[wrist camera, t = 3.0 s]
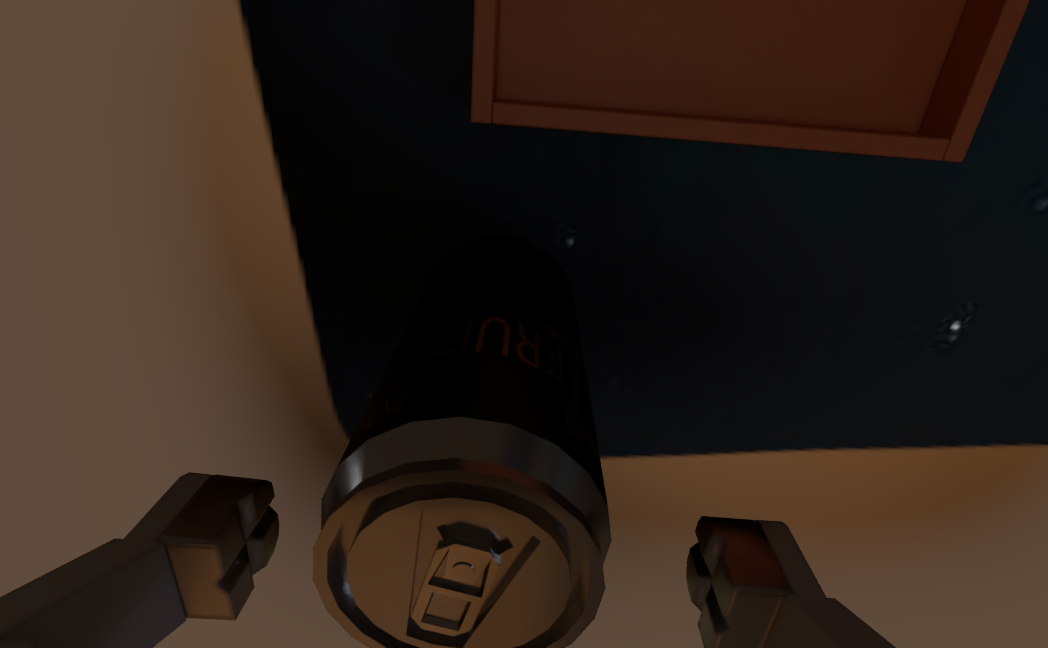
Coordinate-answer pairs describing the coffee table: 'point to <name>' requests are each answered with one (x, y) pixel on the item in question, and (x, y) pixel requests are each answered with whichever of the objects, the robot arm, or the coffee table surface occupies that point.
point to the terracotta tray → (747, 70)
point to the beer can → (473, 471)
